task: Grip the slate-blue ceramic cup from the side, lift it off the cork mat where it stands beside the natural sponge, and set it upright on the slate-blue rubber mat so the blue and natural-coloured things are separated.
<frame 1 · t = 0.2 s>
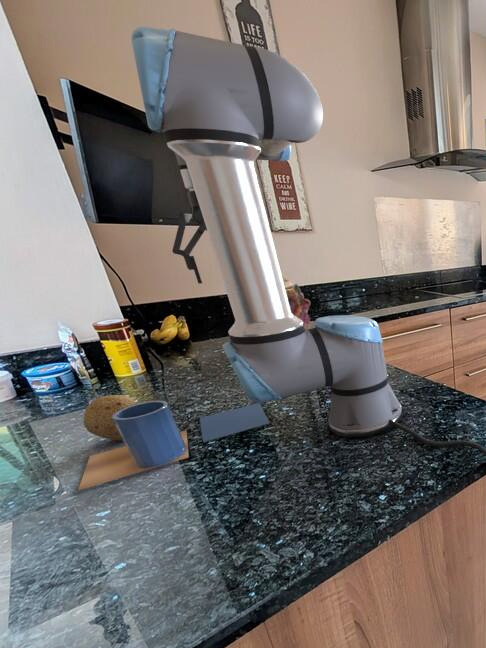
hand: (232, 280, 103), 27 cm above the countertop, tool pointing down, fingers open, 13 cm apart
blue mat: (234, 422, 88), on the countertop
pastry: (115, 411, 96), on the countertop
blue cup: (161, 456, 75), resting on cork mat
cork mat: (139, 458, 75), on the countertop
natural sponge: (124, 440, 82), on the countertop
cookie jar: (286, 345, 144), on the countertop
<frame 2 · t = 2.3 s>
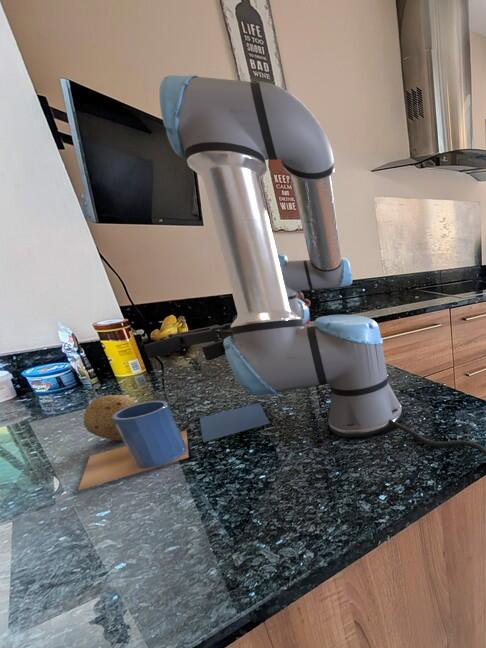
hand: (175, 353, 77), 18 cm above the countertop, tool horizontal, fingers open, 13 cm apart
nothing on the countertop moved.
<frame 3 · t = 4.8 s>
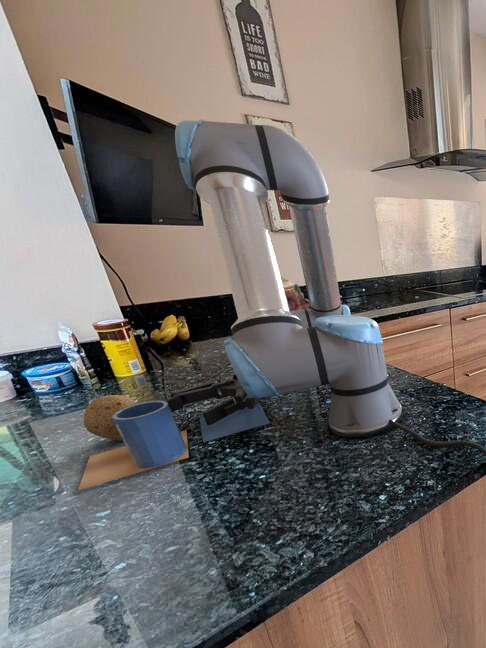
hand: (177, 417, 78), 6 cm above the countertop, tool horizontal, fingers open, 13 cm apart
nothing on the countertop moved.
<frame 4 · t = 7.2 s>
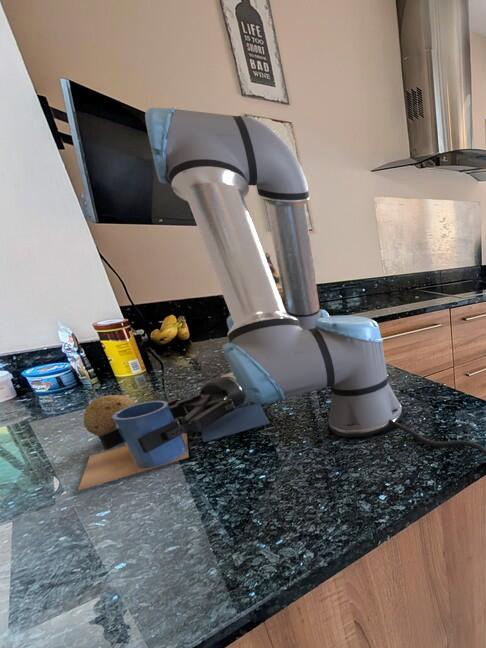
hand: (122, 444, 68), 6 cm above the countertop, tool horizontal, fingers closed on blue cup, 8 cm apart
blue cup: (161, 456, 75), resting on cork mat, touching gripper
everything else where it was.
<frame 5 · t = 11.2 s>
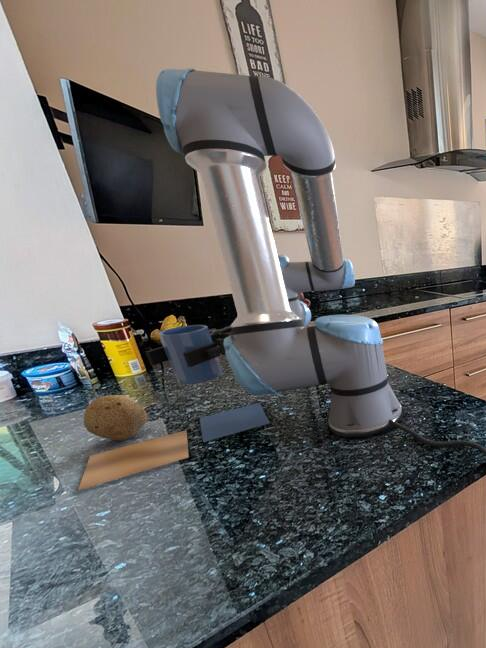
hand: (168, 359, 74), 18 cm above the countertop, tool horizontal, fingers closed on blue cup, 8 cm apart
blue cup: (201, 377, 80), point 12 cm above the countertop, touching gripper
everything else where it was.
when the fingers open (6 cm above the countertop, at t = 15.1 s): blue cup stays where it is, resting on blue mat.
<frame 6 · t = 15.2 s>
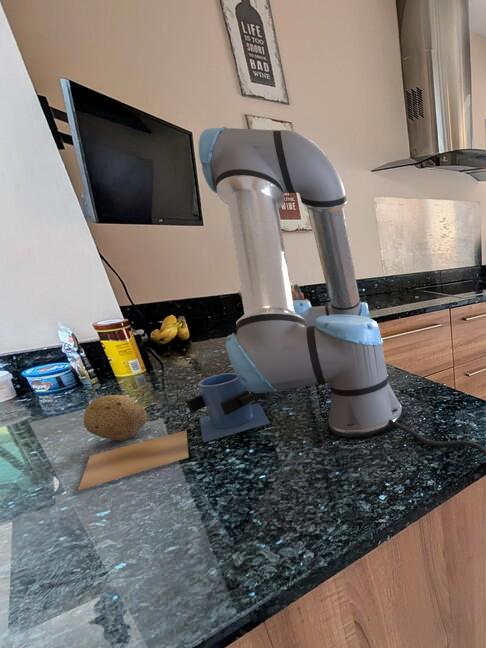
hand: (206, 407, 81), 6 cm above the countertop, tool horizontal, fingers open, 8 cm apart
blue cup: (234, 420, 88), resting on blue mat
everything else where it was.
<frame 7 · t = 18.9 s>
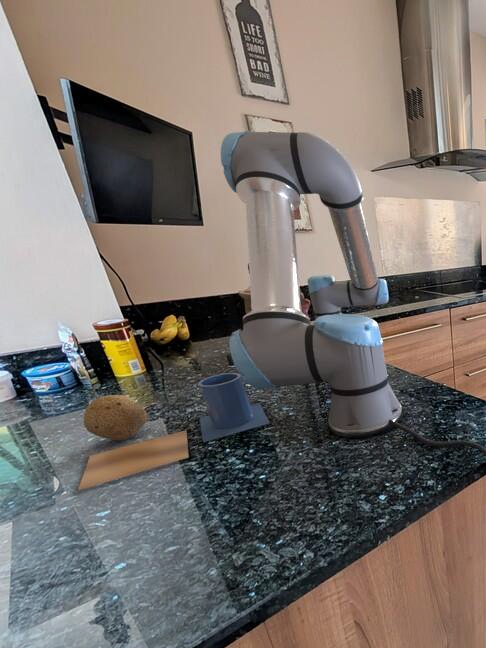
hand: (253, 361, 93), 11 cm above the countertop, tool horizontal, fingers open, 13 cm apart
nothing on the countertop moved.
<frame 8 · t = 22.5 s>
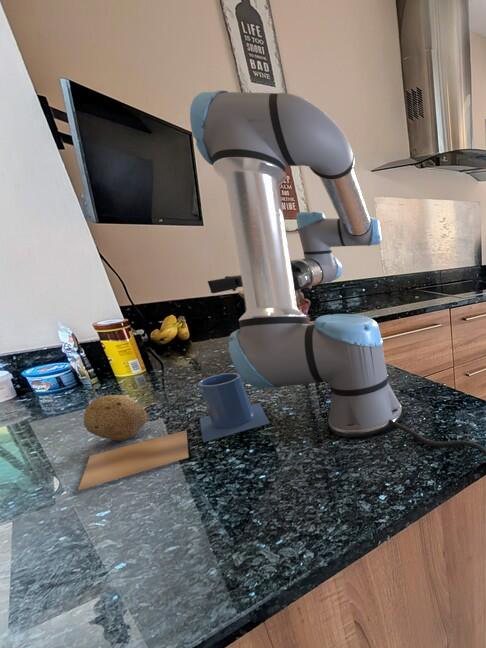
hand: (236, 287, 88), 28 cm above the countertop, tool horizontal, fingers open, 13 cm apart
nothing on the countertop moved.
at the end: blue cup inside the target area (0.1 cm from its centre), resting on blue mat; blue cup tilted 0°; the gripper is holding nothing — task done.
